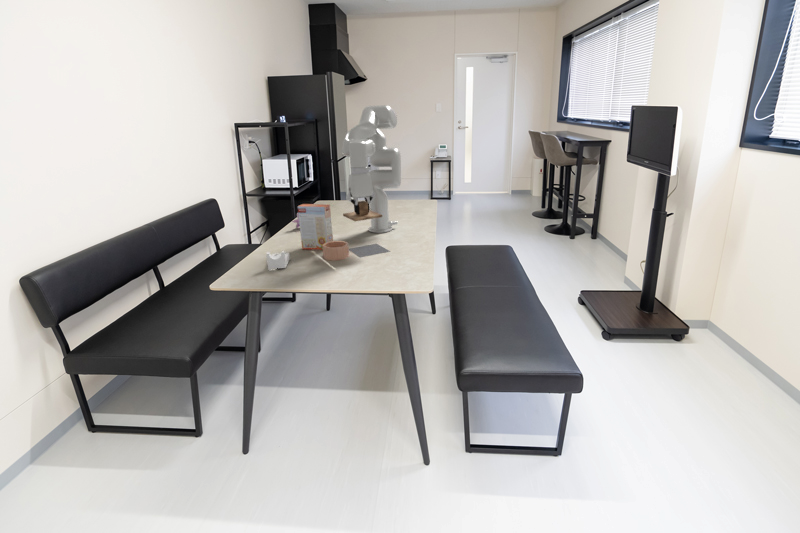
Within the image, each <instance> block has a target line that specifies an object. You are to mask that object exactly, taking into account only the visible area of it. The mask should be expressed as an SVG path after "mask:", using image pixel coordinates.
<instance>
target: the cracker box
mask: <svg viewBox="0 0 800 533" xmlns="http://www.w3.org/2000/svg"><path fill="white" fill-rule="evenodd" d="M297 213H298V215H299V225H300V226H299V233H300V240H301V248H302V250H306V251H307V250H311V251H312V250H318V251H319V250H322V251H323V244H325V243H327V242H332V241H334V236H333V234H334V233H333V226H332V223H333V222H332V216H331V215H332V214H331V205H330V204H324V203H323V204H321V203H320V204H319V203H302V204H300V205H298V206H297Z"/></svg>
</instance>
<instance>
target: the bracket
mask: <svg viewBox="0 0 800 533" xmlns="http://www.w3.org/2000/svg"><path fill="white" fill-rule="evenodd" d="M265 255H266V262H267V263H266V265H267V270H269V271H272V270H271V269H277V268H278V269H286V268H287V265H288V263H289V262H290V258H291V257H290V252H285V250H282V251H281V252H276V253H272V254H271V252H270V251H266V254H265ZM278 269H277V270H278Z"/></svg>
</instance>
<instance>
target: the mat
mask: <svg viewBox="0 0 800 533" xmlns="http://www.w3.org/2000/svg"><path fill="white" fill-rule="evenodd" d="M349 252H351V253H352V254H354V255H355V256H357V257H359V258H365V257H369V256H375V255H379V254H383V253H384V254H386V253H390V252H391V250H389V249H387V248H386V247H383V246H381V245H379V244H378V243H371V244H366V245H361V246H360V245H359V246H357V247H349Z"/></svg>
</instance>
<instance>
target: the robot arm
mask: <svg viewBox="0 0 800 533" xmlns="http://www.w3.org/2000/svg"><path fill="white" fill-rule="evenodd" d="M397 116H398V115H397V113H396V112H395V110H394V109H393V108H392V107H391V106H390V105H368V106H366V107H364V108H363V110H362V113H361V116H360V119H359V124H357V125H355V126H353V127H352V128H351V129H350V130H348V131H347V132H346V134H345V136H344V138H343V142H342V154H343V155H344V156H345V157H347V158H349V165H350V174H348V182H347V183H348V184H347V195H346V197H345V200H347V201H349V202H351V203H352V204H353V210H354V211H353V212H355V213H356V214H359V205H358V201H359V199H361V198H362V199H363V198H364V201H366V202H368V213H369V210H371V211H374V212H376V213H379V214H381V215H382V217H380V218H373V219H370V226H369V228H368V231H369V232H370V233H374V234H377V233H378V234H382V233H388V232H392V230H393V226H395V225H396V226H397V225H398V220H394V221H393V220H390V218H389V216H390V215H389V212H390V210H389V197H388V195H387V193H386V192H385V190H386V189H398V188H400V186H401V182H402V159H401V157H402V156H401V151H400V150H399V148H396V147H387V138H386V136H385V135H384V133H383V131H381V130H382V129H383V130H384V129H385V130H387V129H389V130H390V129H394V128H396V127H397V125H398V124H397V123H398V117H397ZM368 158H369V159H368ZM368 160H369V162H368ZM369 164H370V165H371V166H372V167H374V168H391V169H372V168H371V166H369Z"/></svg>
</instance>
